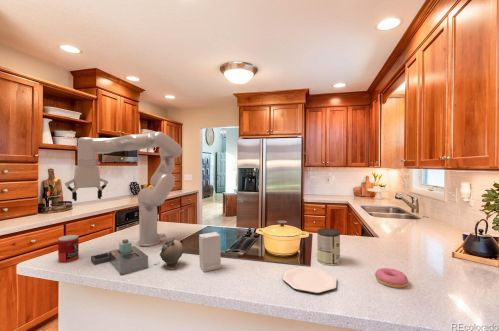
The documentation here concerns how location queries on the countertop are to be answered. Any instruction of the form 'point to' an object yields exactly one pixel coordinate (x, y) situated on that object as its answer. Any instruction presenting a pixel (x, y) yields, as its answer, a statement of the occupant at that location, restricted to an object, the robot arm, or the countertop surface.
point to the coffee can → (328, 246)
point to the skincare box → (209, 251)
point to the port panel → (128, 260)
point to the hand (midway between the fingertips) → (87, 199)
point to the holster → (100, 258)
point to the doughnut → (391, 277)
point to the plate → (310, 280)
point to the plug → (125, 246)
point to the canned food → (68, 248)
